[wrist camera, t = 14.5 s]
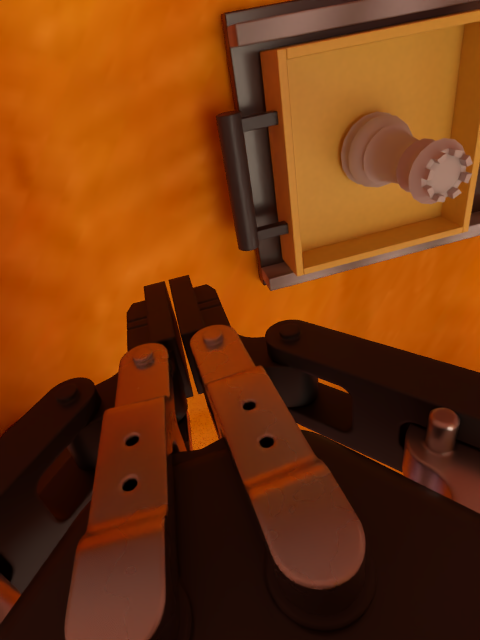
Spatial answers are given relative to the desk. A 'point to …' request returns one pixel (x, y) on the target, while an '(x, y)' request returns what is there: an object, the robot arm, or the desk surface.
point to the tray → (333, 126)
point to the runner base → (248, 93)
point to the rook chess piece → (403, 159)
